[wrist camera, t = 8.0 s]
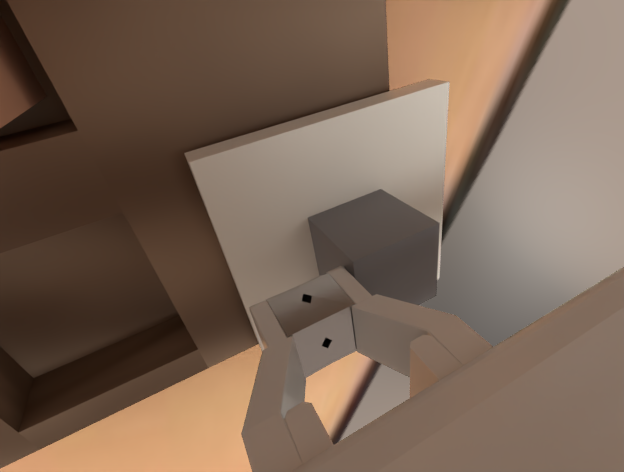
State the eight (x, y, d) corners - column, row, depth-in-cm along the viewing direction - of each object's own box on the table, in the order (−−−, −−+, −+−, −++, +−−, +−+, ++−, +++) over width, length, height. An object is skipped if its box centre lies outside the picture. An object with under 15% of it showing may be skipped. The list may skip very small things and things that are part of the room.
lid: (183, 153, 10) (210, 203, 7) (429, 78, 13) (531, 91, 9) (260, 348, 15) (295, 430, 12) (425, 268, 17) (490, 317, 14)
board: (-758, -267, 5) (-1740, -611, 2) (304, -246, 10) (371, -355, 7) (11, 396, 15) (-15, 475, 12) (359, 244, 20) (396, 277, 17)
